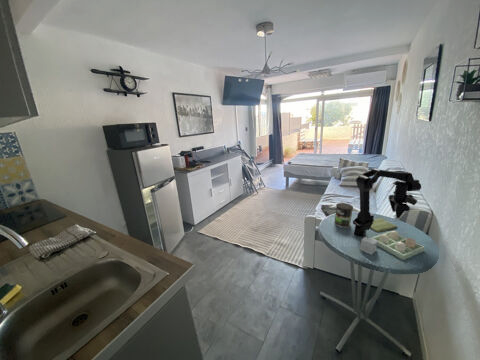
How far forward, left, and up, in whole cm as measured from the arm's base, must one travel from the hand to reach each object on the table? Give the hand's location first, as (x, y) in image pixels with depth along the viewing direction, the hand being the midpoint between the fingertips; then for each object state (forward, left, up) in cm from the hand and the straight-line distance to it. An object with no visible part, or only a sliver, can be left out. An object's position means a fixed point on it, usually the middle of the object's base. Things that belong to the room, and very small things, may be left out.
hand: (395, 214), depth 125 cm
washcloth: (-1, +8, -13) cm, 15 cm away
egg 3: (-19, -15, -12) cm, 27 cm away
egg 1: (-19, -7, -12) cm, 23 cm away
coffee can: (-20, +21, -13) cm, 32 cm away
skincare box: (-32, -7, -13) cm, 35 cm away
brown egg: (-10, -15, -12) cm, 22 cm away
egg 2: (-10, -7, -12) cm, 17 cm away
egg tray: (-14, -11, -12) cm, 22 cm away
